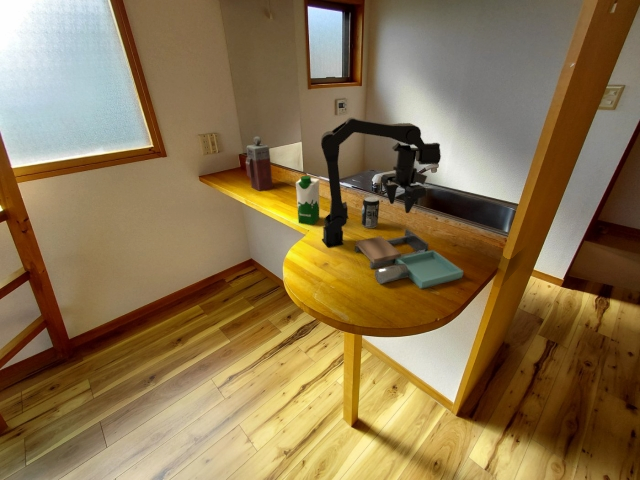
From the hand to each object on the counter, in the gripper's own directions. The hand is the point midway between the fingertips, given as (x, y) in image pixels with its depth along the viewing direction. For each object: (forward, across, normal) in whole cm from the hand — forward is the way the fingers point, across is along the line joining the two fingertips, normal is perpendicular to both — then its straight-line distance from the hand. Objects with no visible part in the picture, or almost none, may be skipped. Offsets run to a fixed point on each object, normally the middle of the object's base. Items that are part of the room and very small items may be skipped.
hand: (399, 208), depth 106 cm
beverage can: (+14, +16, +2) cm, 21 cm away
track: (+14, -7, +7) cm, 17 cm away
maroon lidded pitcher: (+15, +83, +34) cm, 91 cm away
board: (+14, -7, +12) cm, 19 cm away
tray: (+14, -20, +2) cm, 25 cm away
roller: (+12, -20, +15) cm, 27 cm away
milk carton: (+14, +31, +23) cm, 41 cm away
